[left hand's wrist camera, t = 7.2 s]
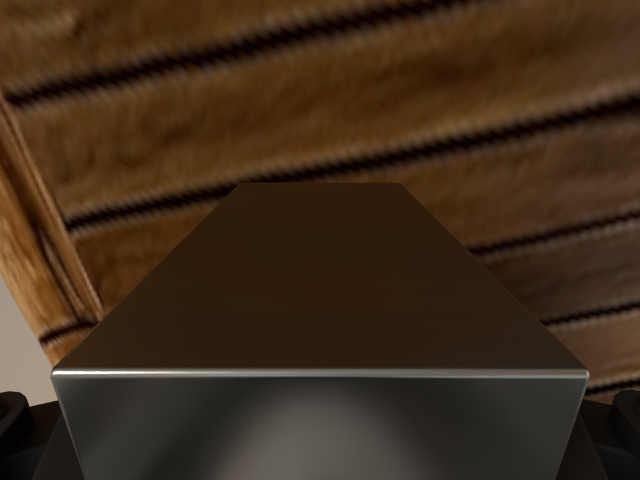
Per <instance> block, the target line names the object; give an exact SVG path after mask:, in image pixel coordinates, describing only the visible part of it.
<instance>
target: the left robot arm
mask: <svg viewBox="0 0 640 480" xmlns="http://www.w3.org/2000/svg"><path fill="white" fill-rule="evenodd" d="M0 480H85V478H84V475H83V472H82V469H81V466H80V463H79V460H78V457H77V454H76V451H75V448H74V445H73V443H72V440H71V437H70V434H69V431H68V428H67V425H66V422H65V419H64V416H63V413H62V410H61V407H60V404H59V401H58V400H57V401H53V402H49V403H44V404H40V405H35V406H31V407H29V404H28V401H27V399H26V397H25V396H24V395H23V394H21V393H20V392H12V391H8V392H2V393H0ZM555 480H640V391H636V390H624V391H620V392H619V393H617V394H616V395H615V397H614V400H613V402H612V405H607V404H603V403H599V402H594V401H590V400H585V399H582V402H581V405H580V408H579V411H578V414H577V417H576V420H575V423H574V426H573V429H572V432H571V435H570V438H569V441H568V443H567V446H566V449H565V452H564V455H563V458H562V461H561V464H560V467H559V470H558V473H557V476H556V479H555Z"/></svg>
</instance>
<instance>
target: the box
mask: <svg viewBox="0 0 640 480" xmlns="http://www.w3.org/2000/svg"><path fill="white" fill-rule="evenodd" d="M589 378H590V375H589V371H588V369H587V368H586V367H585V366H584V365H583V364H582V363H581V362H580V361H579V360H578V359H577V358H576V357H575V356H574V355H573V354H572V353H571V352H570V351H569V350H568V349H567V348H566V347H565V346H564V345H563V344H562V343H561V342H560V341H559V340H558V339H557V338H556V337H555V336H554V335H553V334H552V333H551V332H550V331H549V330H548V329H547V328H546V327H545V326H544V325H543V324H542V323H541V322H540V321H539V320H538V319H537V318H536V317H535V316H534V315H533V314H532V313H531V312H530V311H529V310H528V309H527V308H526V307H525V306H524V305H523V304H522V303H521V302H520V301H519V300H518V299H517V298H516V297H515V296H514V295H513V294H512V293H511V292H510V291H509V290H507V289H506V288H505V287H504V286H503V285H502V284H501V283H500V282H499V281H498V280H497V279H496V278H495V277H494V276H493V275H492V274H491V273H490V272H489V271H488V270H487V269H486V268H485V267H484V266H483V265H482V264H481V263H480V262H479V261H478V260H477V259H476V258H475V257H474V256H473V255H472V254H471V253H470V252H469V251H468V250H467V249H466V248H465V247H464V246H463V245H462V244H461V243H460V242H459V241H458V240H457V239H456V238H455V237H454V236H453V235H452V234H451V233H450V232H449V231H448V230H447V229H446V228H445V227H444V226H443V225H442V224H441V223H440V222H439V221H438V220H437V219H436V218H435V217H434V216H433V215H432V214H431V213H430V212H429V211H428V210H427V209H426V208H425V207H424V206H423V205H422V204H421V203H420V202H419V201H418V200H417V199H416V198H415V197H414V196H413V195H412V194H411V193H410V192H409V191H408V190H407V189H406V188H405V187H404V186H403V185H402V184H401V183H240V184H239V185H238V186H237V187H236V188H235V189H234V190H233V191H232V192H231V193H230V194H229V195H228V196H227V197H226V198H225V199H224V200H223V201H222V202H221V203H220V204H219V205H218V206H217V207H216V208H215V209H213V210H212V211H211V212H210V213H209V214H208V215H207V216H206V217H205V218H204V219H203V220H202V221H201V222H200V223H199V224H198V225H197V226H196V227H195V228H194V229H193V230H192V231H191V232H190V233H189V234H188V235H187V236H186V237H185V238H184V239H183V240H182V241H181V242H180V243H179V244H178V245H177V246H176V247H175V248H174V249H173V250H172V251H171V252H170V253H169V254H168V255H167V256H166V257H165V258H164V259H163V260H162V261H161V262H160V263H159V264H158V265H157V266H156V267H155V268H154V269H153V270H152V271H151V272H150V273H149V274H148V275H147V276H146V277H145V278H144V279H143V280H142V281H141V282H140V283H139V284H138V285H137V286H136V287H135V288H134V289H133V290H132V291H131V292H130V293H129V294H128V295H127V296H126V297H125V298H124V299H123V300H122V301H121V302H120V303H119V304H118V305H117V306H115V307H114V308H113V309H112V310H111V311H110V312H109V313H108V314H107V315H106V316H105V317H104V318H103V319H102V320H101V321H100V322H99V323H98V324H97V325H96V326H95V327H94V328H93V329H92V330H91V331H90V332H89V333H88V334H87V335H86V336H85V337H84V338H83V339H82V340H81V341H80V342H79V343H78V344H77V345H76V346H75V347H74V348H73V349H72V350H71V351H70V352H69V353H68V354H67V355H66V356H65V357H64V358H63V359H62V360H61V361H60V362H59V363H58V364H57V365H56V366H55V367H54V368H53V370H52V372H51V380H52V383H53V386H54V389H55V392H56V395H57V398H58V401H59V404H60V407H61V410H62V413H63V416H64V419H65V422H66V425H67V428H68V431H69V434H70V437H71V440H72V443H73V445H74V448H75V451H76V454H77V457H78V460H79V463H80V466H81V469H82V472H83V475H84V478H85V480H555V479H556V476H557V473H558V470H559V467H560V464H561V461H562V458H563V455H564V452H565V449H566V446H567V443H568V441H569V438H570V435H571V432H572V429H573V426H574V423H575V420H576V417H577V414H578V411H579V408H580V405H581V402H582V399H583V396H584V393H585V390H586V387H587V384H588V381H589Z"/></svg>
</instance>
